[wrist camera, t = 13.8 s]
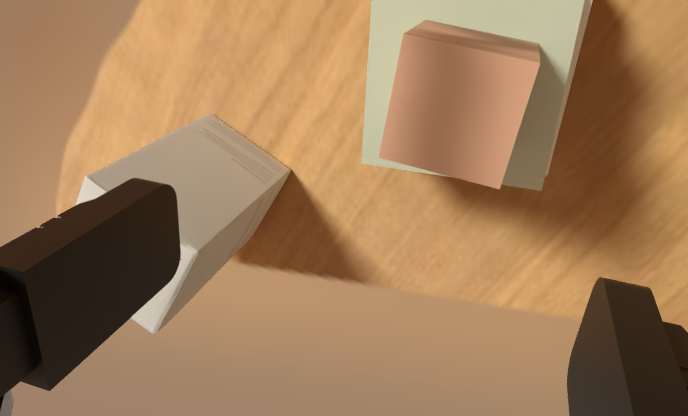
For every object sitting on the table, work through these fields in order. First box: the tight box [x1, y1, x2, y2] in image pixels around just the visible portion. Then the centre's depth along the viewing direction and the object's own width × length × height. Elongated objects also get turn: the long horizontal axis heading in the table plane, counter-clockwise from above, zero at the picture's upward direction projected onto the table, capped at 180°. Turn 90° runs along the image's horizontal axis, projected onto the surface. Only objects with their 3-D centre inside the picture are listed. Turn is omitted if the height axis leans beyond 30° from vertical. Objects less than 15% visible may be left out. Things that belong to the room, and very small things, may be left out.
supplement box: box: [75, 114, 291, 334], centre depth 35 cm, size 7×7×13 cm
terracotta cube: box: [379, 20, 540, 189], centre depth 23 cm, size 5×5×5 cm
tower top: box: [361, 0, 585, 191], centre depth 27 cm, size 9×9×4 cm
